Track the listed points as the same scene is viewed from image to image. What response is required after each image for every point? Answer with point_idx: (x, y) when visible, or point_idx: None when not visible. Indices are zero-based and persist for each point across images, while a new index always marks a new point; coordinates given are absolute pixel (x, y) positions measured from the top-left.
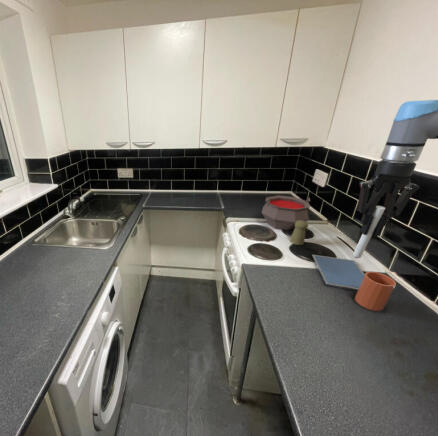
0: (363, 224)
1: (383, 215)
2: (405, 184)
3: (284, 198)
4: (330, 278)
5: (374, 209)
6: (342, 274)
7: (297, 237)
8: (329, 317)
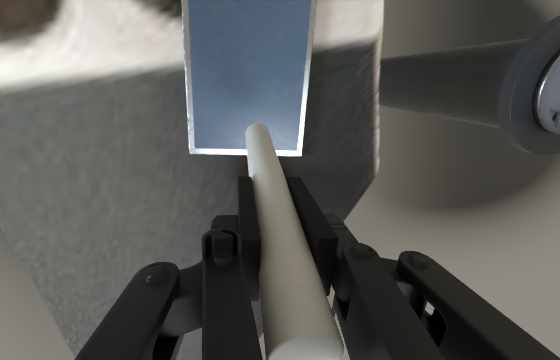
0: (238, 203)
1: (335, 270)
2: None
3: None
4: (206, 127)
5: (264, 323)
6: (246, 95)
7: None
8: (174, 256)
